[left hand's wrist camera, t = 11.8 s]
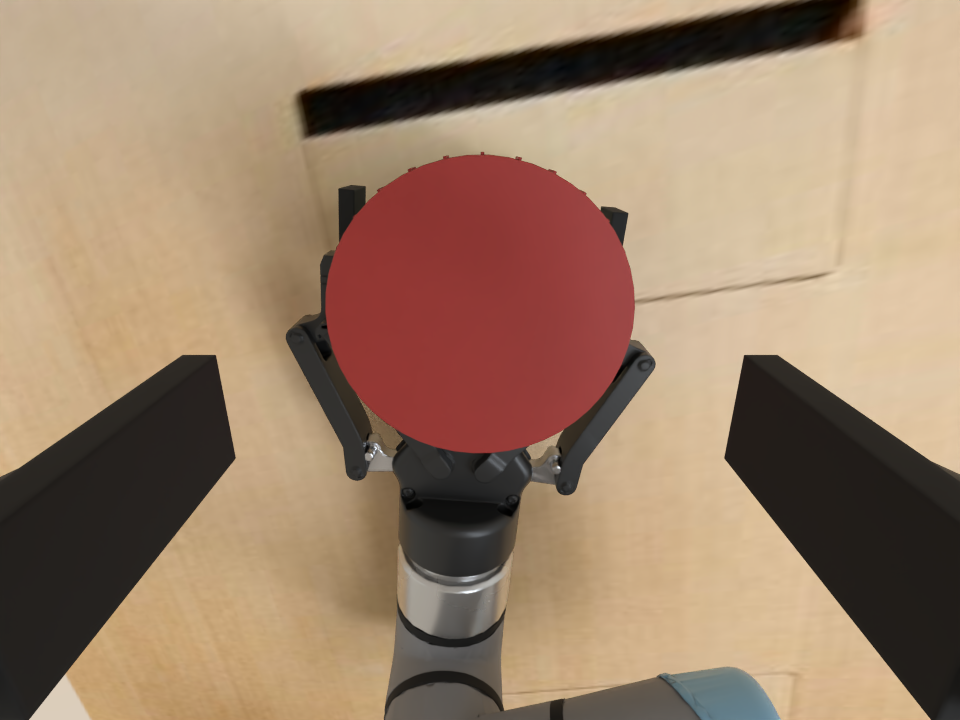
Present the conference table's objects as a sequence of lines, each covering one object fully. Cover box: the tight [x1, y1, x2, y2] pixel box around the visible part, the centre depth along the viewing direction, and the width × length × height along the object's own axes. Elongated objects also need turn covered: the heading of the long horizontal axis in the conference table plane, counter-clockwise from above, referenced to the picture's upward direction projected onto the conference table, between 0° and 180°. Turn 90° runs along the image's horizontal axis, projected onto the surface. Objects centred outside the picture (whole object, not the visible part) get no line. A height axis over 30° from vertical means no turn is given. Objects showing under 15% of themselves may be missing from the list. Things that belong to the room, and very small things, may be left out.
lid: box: [325, 152, 635, 453], centre depth 20 cm, size 11×11×2 cm
